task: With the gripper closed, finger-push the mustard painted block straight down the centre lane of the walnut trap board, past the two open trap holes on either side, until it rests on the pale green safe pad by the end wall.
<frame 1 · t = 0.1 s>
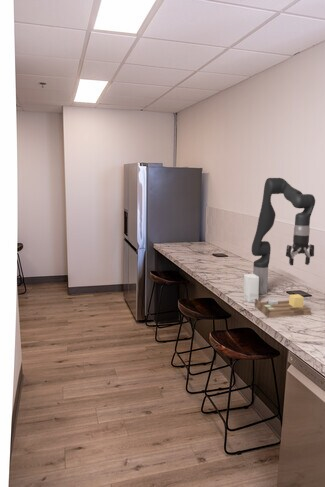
hand: (299, 264, 193), 29 cm above the counter, fingers open, 8 cm apart
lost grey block: (272, 307, 215), resting in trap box
skincare box: (250, 300, 227), on the counter
mustard block: (295, 305, 211), point 2 cm above the counter, touching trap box
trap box: (282, 310, 210), on the counter
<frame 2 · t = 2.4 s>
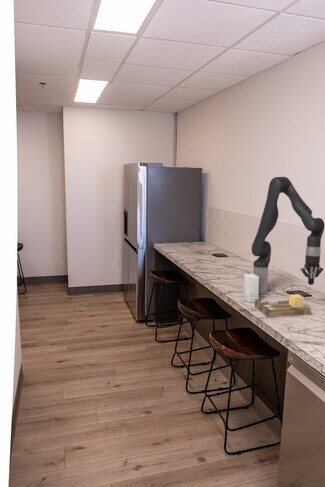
hand: (310, 284, 210), 14 cm above the counter, fingers closed
nothing on the counter moved.
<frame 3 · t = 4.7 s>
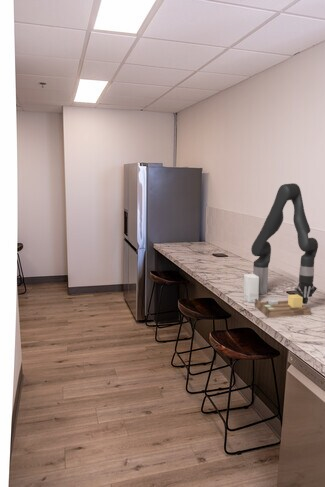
hand: (304, 303, 212), 3 cm above the counter, fingers closed
mustard block: (294, 305, 211), point 3 cm above the counter, touching gripper, hand
everything else where it was.
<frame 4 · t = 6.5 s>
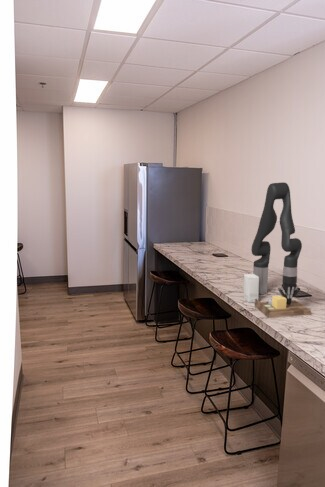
hand: (288, 304, 210), 3 cm above the counter, fingers closed
mustard block: (278, 306, 208), point 3 cm above the counter, touching gripper, hand
everything else where it was.
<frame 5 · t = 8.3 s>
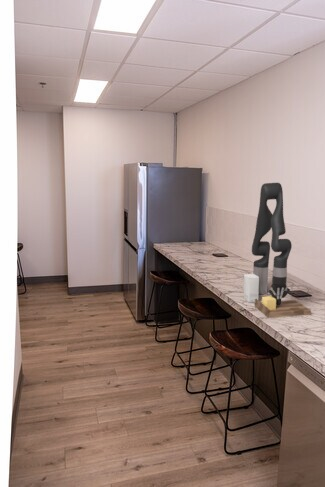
hand: (277, 304, 209), 3 cm above the counter, fingers closed
mustard block: (268, 307, 207), point 2 cm above the counter, touching gripper, hand, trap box
everything else where it was.
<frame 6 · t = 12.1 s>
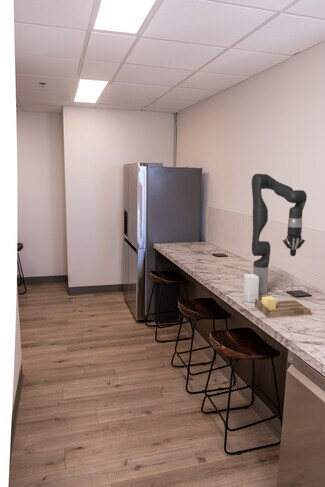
hand: (292, 255, 215), 29 cm above the counter, fingers closed
mustard block: (268, 307, 207), point 2 cm above the counter, touching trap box
everything else where it was.
at the end: mustard block 0.9 cm from the target spot on the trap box, point 2.5 cm above the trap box's base; mustard block tilted 0° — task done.
